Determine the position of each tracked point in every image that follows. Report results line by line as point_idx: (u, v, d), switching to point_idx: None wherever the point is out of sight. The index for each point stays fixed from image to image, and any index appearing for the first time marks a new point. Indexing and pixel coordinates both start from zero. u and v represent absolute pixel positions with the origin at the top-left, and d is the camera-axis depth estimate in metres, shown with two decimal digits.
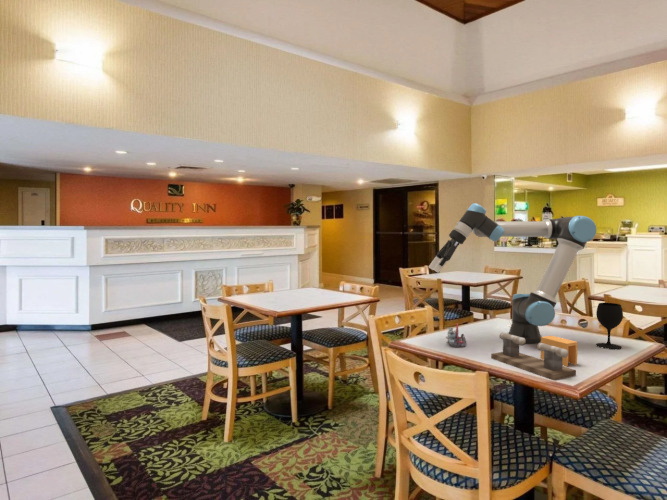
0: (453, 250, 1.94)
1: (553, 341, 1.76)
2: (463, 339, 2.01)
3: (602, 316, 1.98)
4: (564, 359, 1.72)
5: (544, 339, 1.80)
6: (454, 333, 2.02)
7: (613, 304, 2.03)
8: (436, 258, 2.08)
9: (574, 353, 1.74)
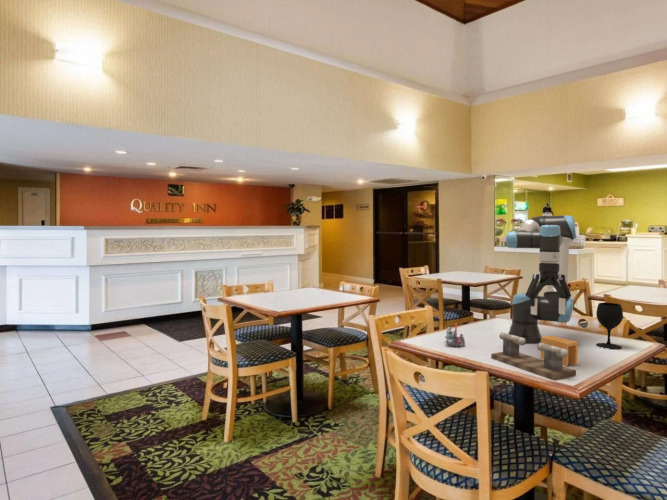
0: None
1: (553, 341, 1.76)
2: (462, 339, 2.01)
3: (602, 316, 1.98)
4: (564, 359, 1.72)
5: (544, 339, 1.80)
6: (453, 333, 2.03)
7: (613, 304, 2.03)
8: None
9: (574, 353, 1.74)
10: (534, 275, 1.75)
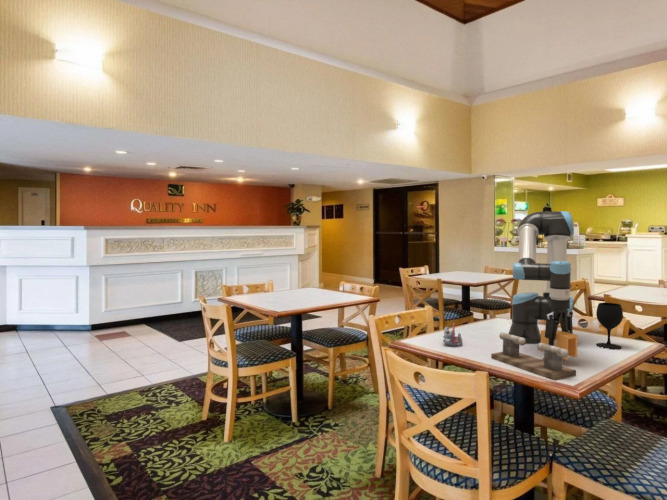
0: None
1: None
2: (459, 338, 2.02)
3: (602, 316, 1.98)
4: None
5: (544, 332, 1.81)
6: (450, 332, 2.03)
7: (613, 304, 2.03)
8: None
9: (574, 346, 1.74)
10: (547, 316, 1.75)
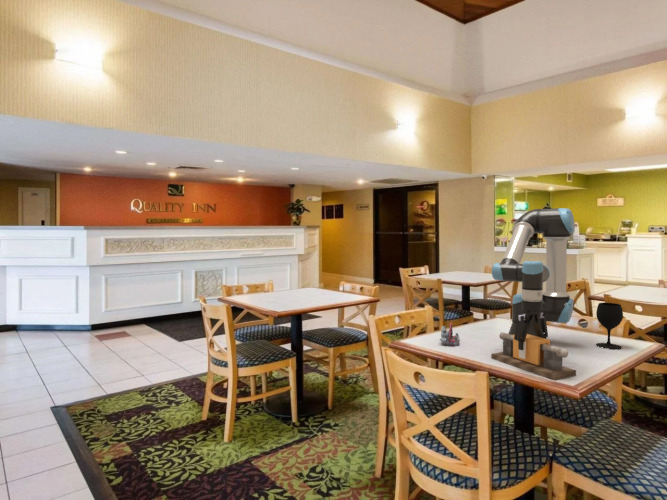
0: None
1: (525, 339, 1.70)
2: (456, 338, 2.03)
3: (602, 316, 1.98)
4: (536, 357, 1.65)
5: None
6: (447, 332, 2.05)
7: (613, 304, 2.03)
8: None
9: None
10: (518, 317, 1.68)
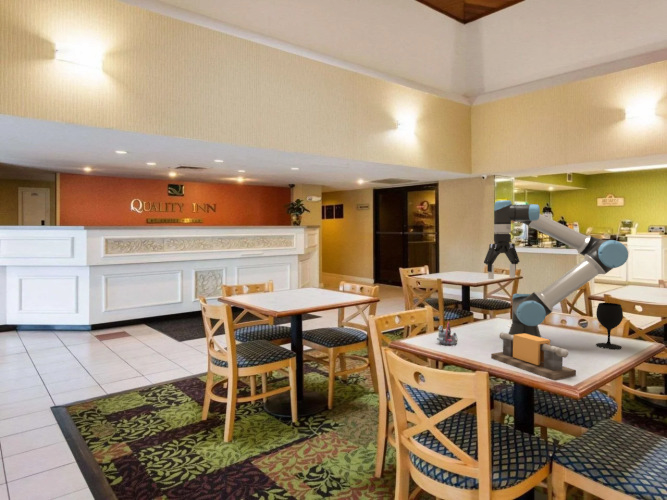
0: None
1: (525, 339, 1.70)
2: (453, 337, 2.04)
3: (602, 316, 1.98)
4: (536, 357, 1.65)
5: (516, 337, 1.74)
6: (444, 331, 2.06)
7: (613, 304, 2.03)
8: None
9: None
10: (491, 244, 2.00)
